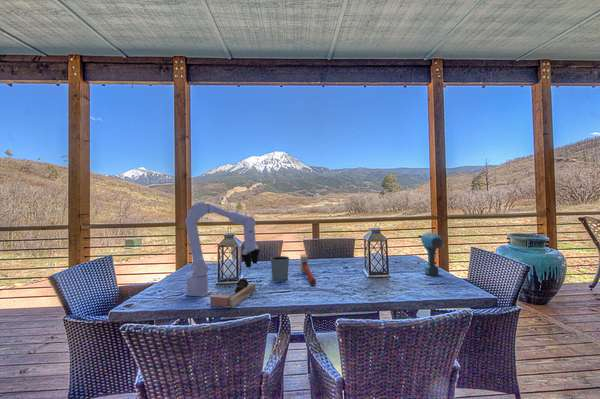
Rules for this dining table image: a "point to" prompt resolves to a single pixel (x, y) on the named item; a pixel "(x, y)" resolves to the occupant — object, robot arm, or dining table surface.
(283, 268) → the grey green pot
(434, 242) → the power drill
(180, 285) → the dining table surface
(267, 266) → the dining table surface
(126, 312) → the dining table surface
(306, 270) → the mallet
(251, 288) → the fence rail
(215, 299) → the stop block
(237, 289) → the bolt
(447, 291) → the dining table surface
